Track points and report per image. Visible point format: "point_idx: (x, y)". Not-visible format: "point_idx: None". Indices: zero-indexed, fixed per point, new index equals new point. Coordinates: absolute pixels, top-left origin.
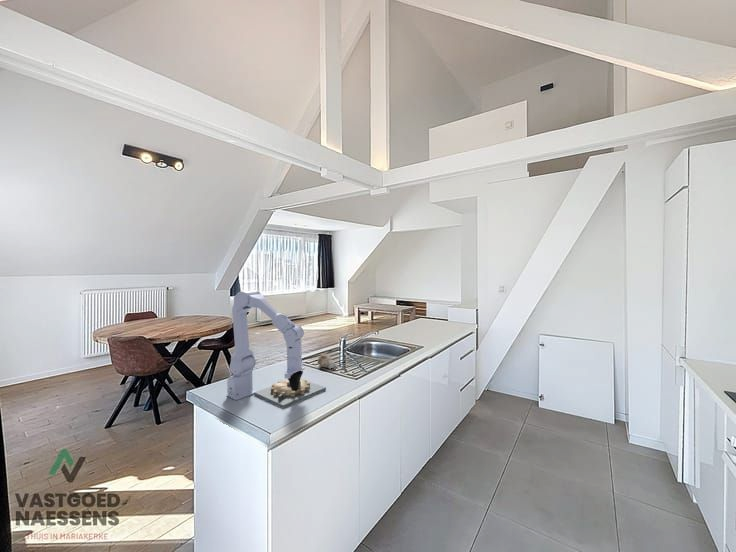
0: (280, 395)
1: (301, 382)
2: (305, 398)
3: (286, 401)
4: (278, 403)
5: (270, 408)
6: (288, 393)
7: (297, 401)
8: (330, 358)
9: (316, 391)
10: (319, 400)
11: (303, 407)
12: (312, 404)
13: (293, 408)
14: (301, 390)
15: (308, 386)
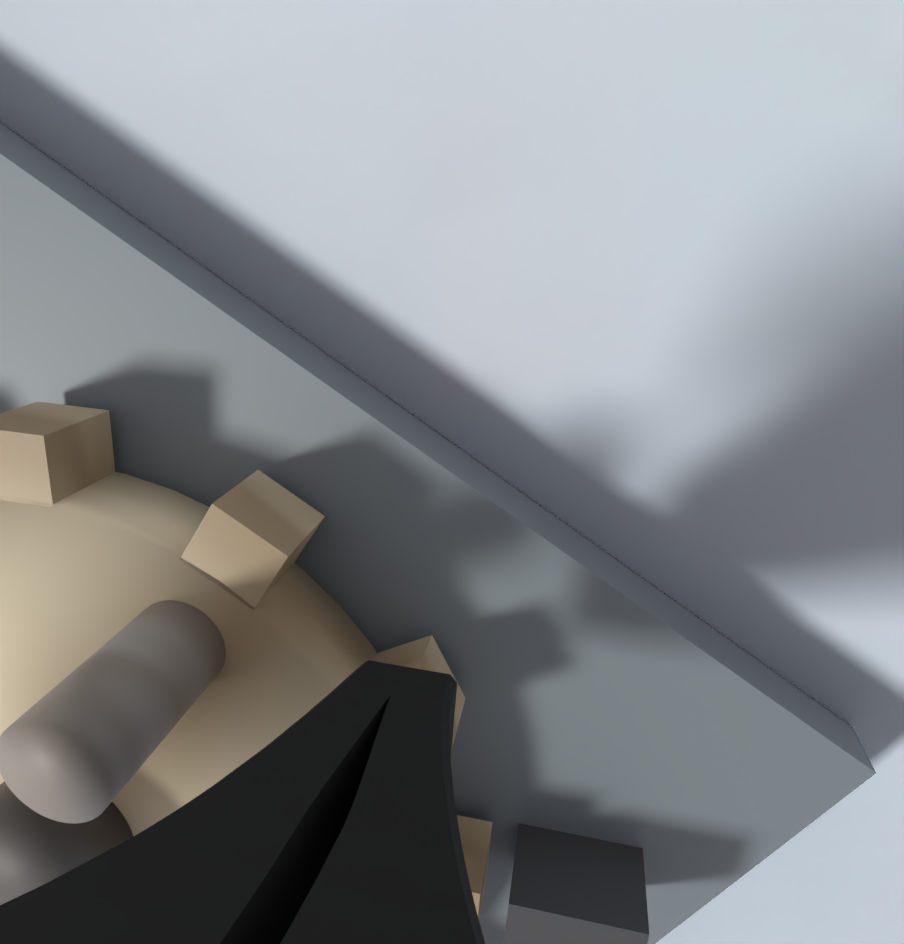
0: (601, 939)
1: None
2: (382, 397)
3: (678, 743)
4: (753, 860)
5: (824, 918)
6: None
7: (561, 528)
8: None
9: (70, 202)
10: (443, 7)
11: (850, 323)
12: (687, 135)
13: (879, 534)
14: (288, 556)
15: (14, 436)
